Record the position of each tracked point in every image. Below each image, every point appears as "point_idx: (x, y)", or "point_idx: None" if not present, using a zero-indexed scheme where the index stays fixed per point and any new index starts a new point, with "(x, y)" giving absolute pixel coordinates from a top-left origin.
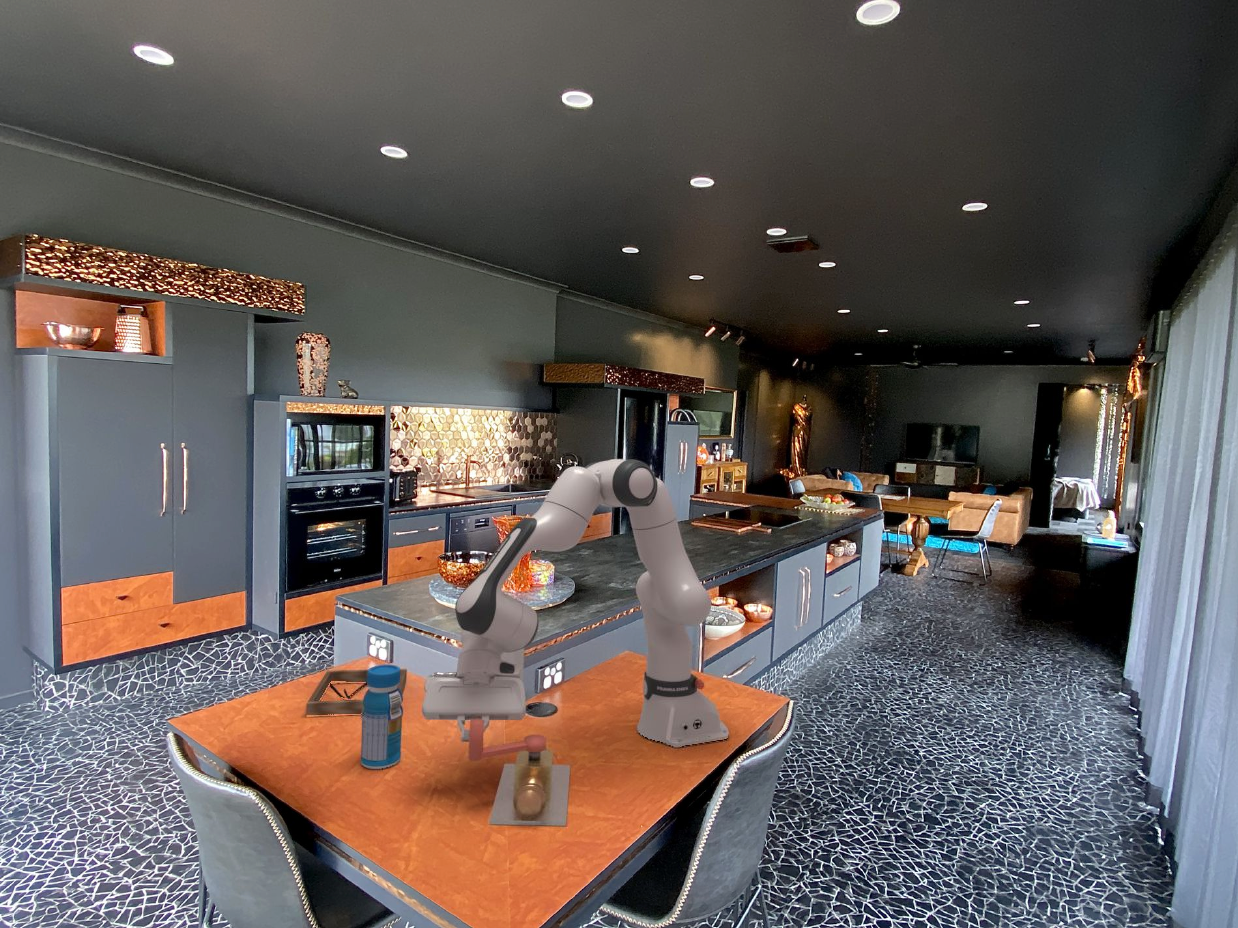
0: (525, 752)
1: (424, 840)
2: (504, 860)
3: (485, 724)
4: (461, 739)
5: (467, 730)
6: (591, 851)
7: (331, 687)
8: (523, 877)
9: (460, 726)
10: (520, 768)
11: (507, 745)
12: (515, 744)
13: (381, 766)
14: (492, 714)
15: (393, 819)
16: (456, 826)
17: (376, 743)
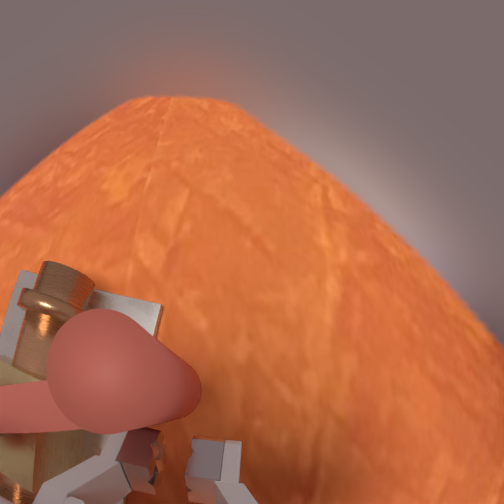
0: (13, 463)
1: (308, 264)
2: (152, 187)
3: (71, 474)
4: (238, 441)
5: (198, 473)
6: (25, 199)
7: None
8: (134, 150)
9: (250, 500)
10: (35, 376)
11: (29, 412)
12: (5, 409)
13: None
14: (7, 500)
15: (390, 353)
16: (241, 310)
17: None
